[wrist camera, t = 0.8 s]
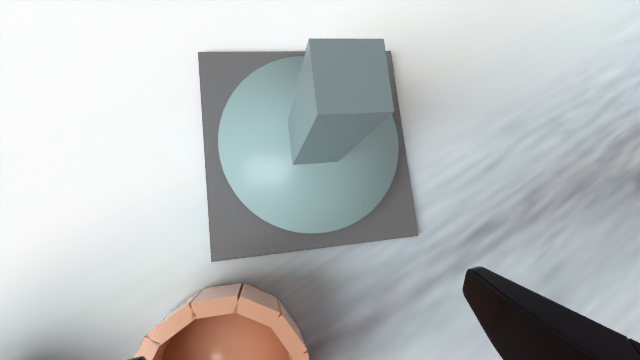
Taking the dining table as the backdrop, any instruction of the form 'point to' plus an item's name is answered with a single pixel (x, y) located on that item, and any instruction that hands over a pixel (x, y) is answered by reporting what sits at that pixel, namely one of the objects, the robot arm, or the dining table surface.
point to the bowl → (226, 328)
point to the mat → (244, 226)
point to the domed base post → (313, 136)
